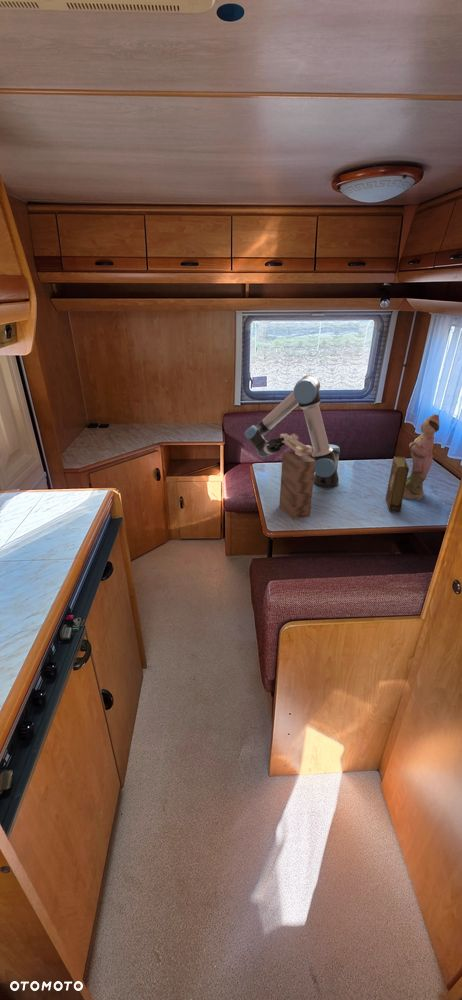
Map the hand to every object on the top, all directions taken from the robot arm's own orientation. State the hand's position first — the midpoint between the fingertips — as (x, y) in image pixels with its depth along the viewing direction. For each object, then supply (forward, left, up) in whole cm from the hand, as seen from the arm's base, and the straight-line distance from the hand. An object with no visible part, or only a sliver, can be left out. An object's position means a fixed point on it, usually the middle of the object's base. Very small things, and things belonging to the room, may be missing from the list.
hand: (291, 436), depth 214 cm
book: (-53, +20, -38) cm, 68 cm away
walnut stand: (0, +9, -37) cm, 38 cm away
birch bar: (0, +3, -4) cm, 6 cm away
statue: (-72, +11, -38) cm, 82 cm away
